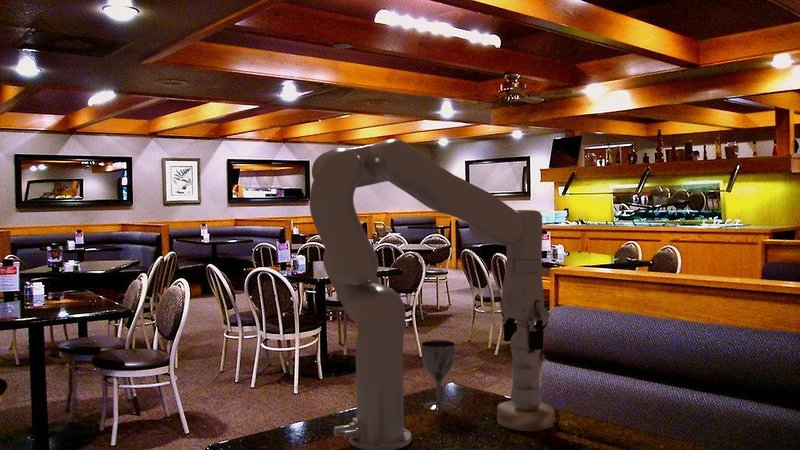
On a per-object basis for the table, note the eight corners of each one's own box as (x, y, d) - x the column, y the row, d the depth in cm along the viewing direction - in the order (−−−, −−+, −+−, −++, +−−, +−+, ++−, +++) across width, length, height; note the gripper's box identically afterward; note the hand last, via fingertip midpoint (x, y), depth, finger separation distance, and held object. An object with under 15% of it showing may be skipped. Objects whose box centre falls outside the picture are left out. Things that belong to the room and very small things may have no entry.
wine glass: (415, 407, 157) (414, 344, 157) (434, 399, 164) (433, 338, 163) (443, 413, 152) (442, 348, 152) (462, 405, 159) (461, 342, 158)
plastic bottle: (534, 415, 141) (533, 321, 140) (505, 410, 145) (504, 318, 144) (546, 407, 146) (546, 317, 146) (518, 402, 150) (518, 314, 150)
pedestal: (517, 434, 139) (517, 420, 138) (487, 417, 150) (487, 404, 149) (564, 426, 143) (564, 412, 143) (532, 410, 154) (531, 397, 154)
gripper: (488, 263, 152) (487, 339, 152) (532, 271, 136) (531, 354, 136) (516, 263, 155) (515, 336, 155) (563, 269, 139) (561, 351, 139)
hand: (522, 345), depth 146 cm, fingers open, 9 cm apart
